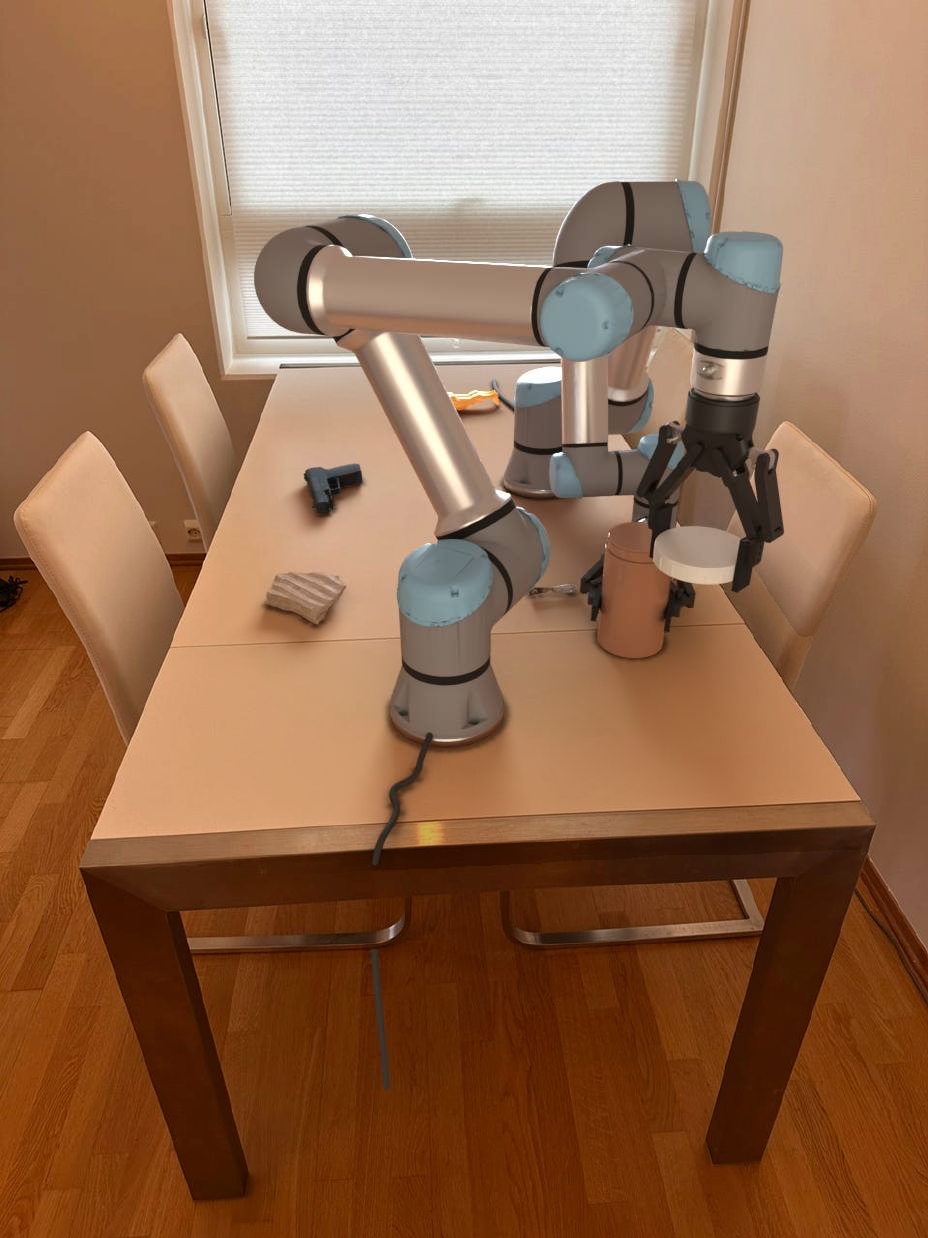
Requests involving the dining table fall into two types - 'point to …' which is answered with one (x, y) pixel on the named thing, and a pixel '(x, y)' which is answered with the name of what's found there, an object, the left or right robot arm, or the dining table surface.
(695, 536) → the lid
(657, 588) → the jar
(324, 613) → the stone
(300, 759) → the dining table surface
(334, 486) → the handgun
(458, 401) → the human figure
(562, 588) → the putty knife
